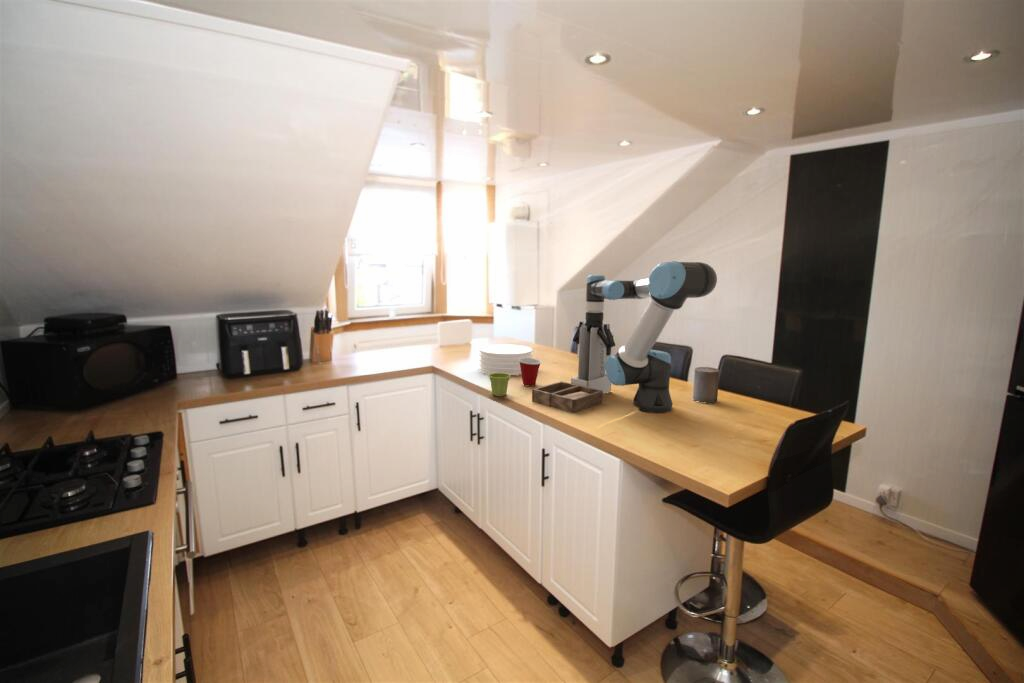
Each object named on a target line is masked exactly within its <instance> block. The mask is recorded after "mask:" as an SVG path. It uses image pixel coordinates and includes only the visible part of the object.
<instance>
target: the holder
mask: <svg viewBox="0 0 1024 683" xmlns="http://www.w3.org/2000/svg"><path fill="white" fill-rule="evenodd" d="M570 383H571V384H575V385H580V386H584V387H588V388H592V389H597V390H601V391H603V394H604V395H606V394H605V393H607V392H610V391H611V392H612V383H611V382H610V381H609V379H608V377H607V374H606V373H605V376H604V377H600V378H597V379H594V380H590V381H584V380H580V379H578V375H577V376H574V377H571V378H570ZM611 392H610V393H611ZM607 394H608V393H607Z"/></svg>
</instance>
